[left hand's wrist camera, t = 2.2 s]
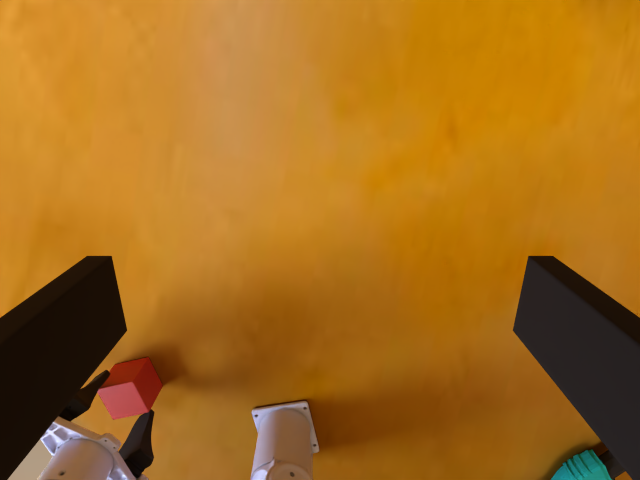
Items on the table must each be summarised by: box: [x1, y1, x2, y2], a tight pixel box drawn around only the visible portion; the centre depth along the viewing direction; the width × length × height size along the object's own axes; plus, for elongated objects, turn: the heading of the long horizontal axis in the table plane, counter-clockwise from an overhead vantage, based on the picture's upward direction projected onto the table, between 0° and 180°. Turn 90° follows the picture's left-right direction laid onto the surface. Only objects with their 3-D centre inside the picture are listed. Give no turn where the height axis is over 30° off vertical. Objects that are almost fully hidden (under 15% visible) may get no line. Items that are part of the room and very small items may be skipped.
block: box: [98, 357, 163, 420], centre depth 50 cm, size 5×5×5 cm
